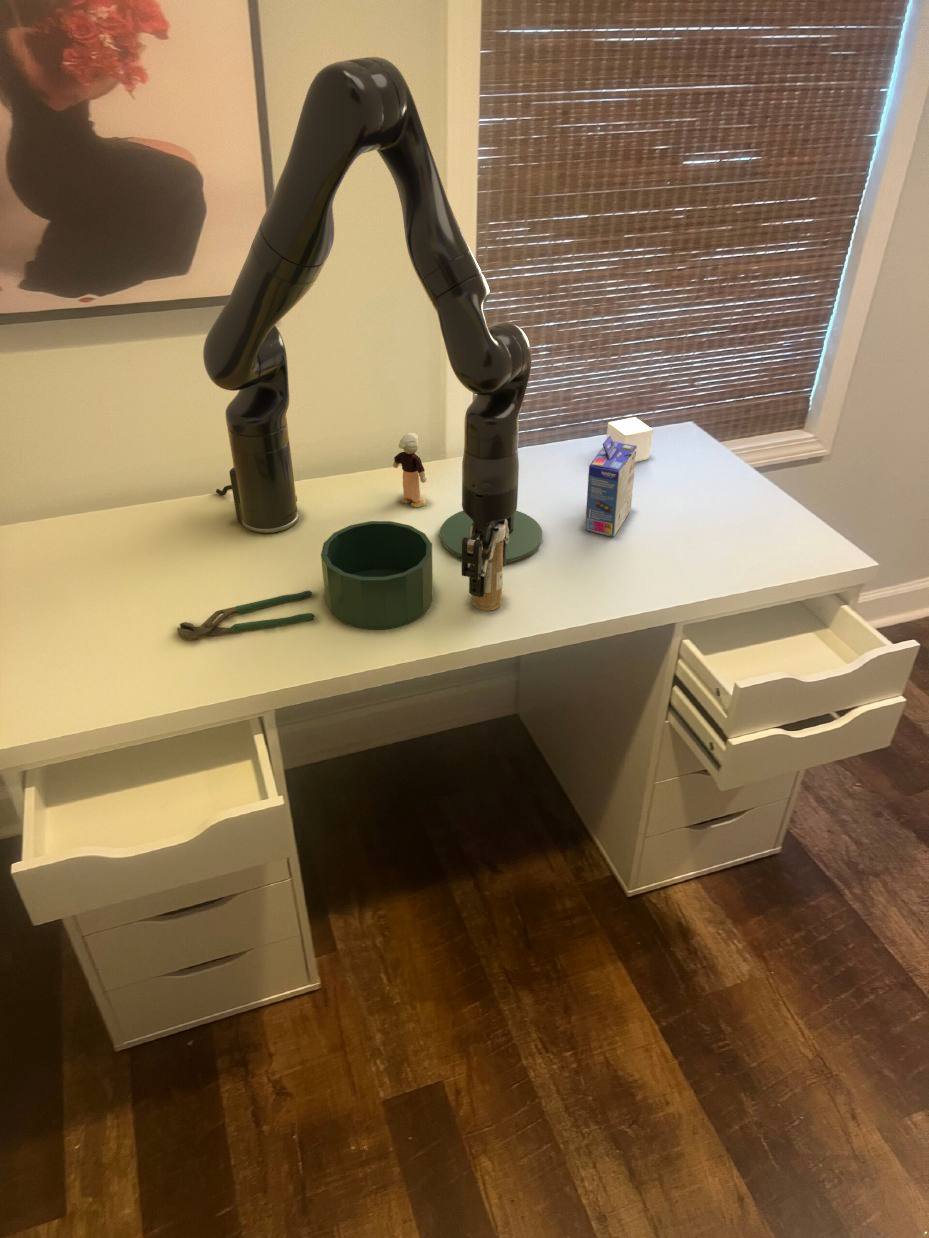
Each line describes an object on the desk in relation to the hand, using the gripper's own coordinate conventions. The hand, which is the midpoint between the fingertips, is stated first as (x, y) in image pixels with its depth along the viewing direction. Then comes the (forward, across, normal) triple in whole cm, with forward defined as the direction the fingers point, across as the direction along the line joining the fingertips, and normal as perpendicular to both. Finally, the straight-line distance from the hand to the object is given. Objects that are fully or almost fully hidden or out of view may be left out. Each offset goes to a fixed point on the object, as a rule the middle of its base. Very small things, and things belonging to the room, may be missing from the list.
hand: (487, 579), depth 130 cm
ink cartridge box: (+4, -30, +10) cm, 32 cm away
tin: (+4, +5, -15) cm, 16 cm away
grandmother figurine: (+4, -23, -23) cm, 33 cm away
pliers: (+4, +17, -30) cm, 35 cm away
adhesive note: (+4, -55, +7) cm, 56 cm away
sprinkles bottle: (+4, 0, 0) cm, 4 cm away
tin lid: (+4, -17, -6) cm, 18 cm away
